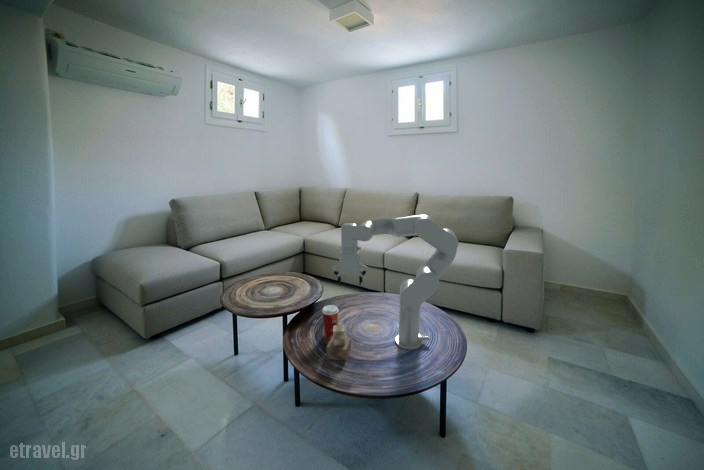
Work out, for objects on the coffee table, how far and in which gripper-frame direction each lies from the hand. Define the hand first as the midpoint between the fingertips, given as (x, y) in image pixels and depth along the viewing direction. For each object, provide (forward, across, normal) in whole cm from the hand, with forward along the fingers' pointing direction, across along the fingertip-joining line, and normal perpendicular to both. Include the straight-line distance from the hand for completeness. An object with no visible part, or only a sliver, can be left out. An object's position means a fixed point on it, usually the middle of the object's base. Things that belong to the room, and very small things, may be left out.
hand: (350, 283), depth 144 cm
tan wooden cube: (+29, +5, +14) cm, 32 cm away
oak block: (+22, +5, +14) cm, 27 cm away
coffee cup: (+28, +10, -1) cm, 30 cm away
